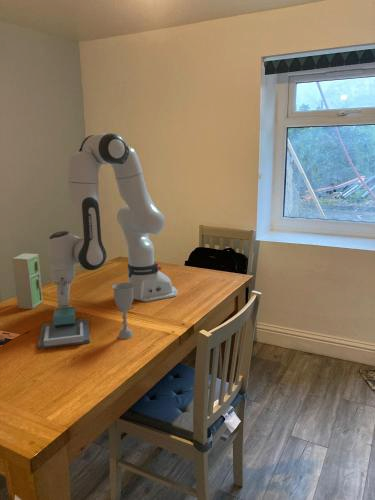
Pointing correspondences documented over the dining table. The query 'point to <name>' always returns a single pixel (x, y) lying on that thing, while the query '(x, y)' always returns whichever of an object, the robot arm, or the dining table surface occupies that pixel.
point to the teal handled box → (64, 316)
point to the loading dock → (64, 334)
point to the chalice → (124, 305)
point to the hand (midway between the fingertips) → (65, 308)
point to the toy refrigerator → (27, 280)
